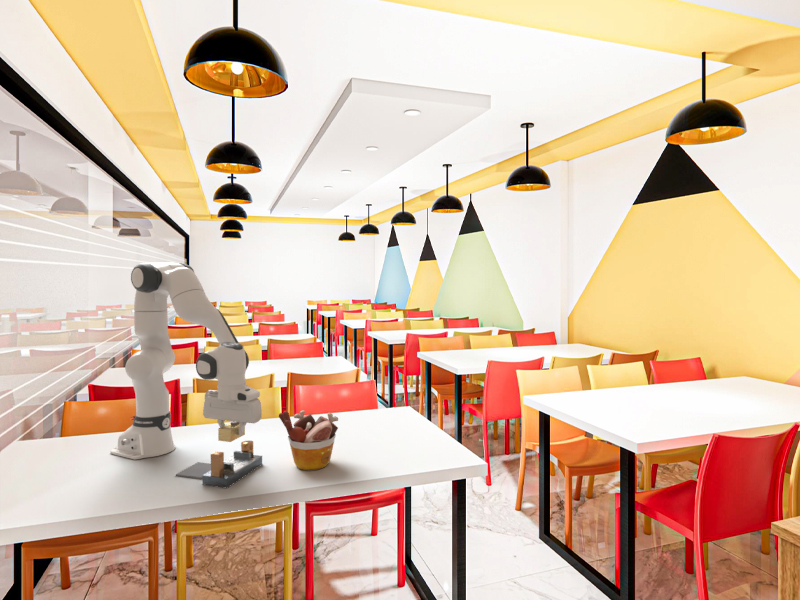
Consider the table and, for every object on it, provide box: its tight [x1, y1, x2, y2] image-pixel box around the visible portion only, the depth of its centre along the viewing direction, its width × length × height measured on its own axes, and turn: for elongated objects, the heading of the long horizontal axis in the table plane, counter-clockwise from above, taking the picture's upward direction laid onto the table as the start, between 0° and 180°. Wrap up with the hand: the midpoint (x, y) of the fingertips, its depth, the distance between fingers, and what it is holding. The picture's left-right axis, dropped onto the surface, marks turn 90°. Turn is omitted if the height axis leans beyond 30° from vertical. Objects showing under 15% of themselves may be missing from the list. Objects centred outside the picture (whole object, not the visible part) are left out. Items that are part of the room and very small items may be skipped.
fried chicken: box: [278, 410, 339, 471], centre depth 170 cm, size 20×16×20 cm
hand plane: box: [201, 440, 263, 489], centre depth 162 cm, size 20×9×10 cm, turn 164°
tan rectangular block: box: [217, 421, 246, 443], centre depth 162 cm, size 8×4×5 cm, turn 164°
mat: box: [175, 461, 211, 480], centre depth 165 cm, size 11×11×1 cm
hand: (231, 433), depth 162 cm, fingers closed on tan rectangular block, 4 cm apart
